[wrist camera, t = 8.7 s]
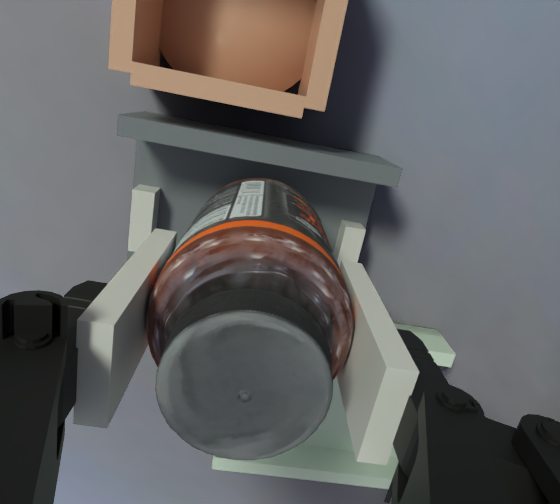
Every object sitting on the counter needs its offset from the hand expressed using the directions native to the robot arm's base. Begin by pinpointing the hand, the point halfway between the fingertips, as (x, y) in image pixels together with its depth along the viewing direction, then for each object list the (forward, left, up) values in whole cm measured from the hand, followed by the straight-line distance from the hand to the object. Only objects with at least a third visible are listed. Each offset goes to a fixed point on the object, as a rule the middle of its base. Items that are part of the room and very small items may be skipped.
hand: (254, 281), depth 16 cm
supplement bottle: (0, 0, -5) cm, 5 cm away
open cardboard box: (+2, -10, -7) cm, 13 cm away
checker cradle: (0, 0, -7) cm, 7 cm away
